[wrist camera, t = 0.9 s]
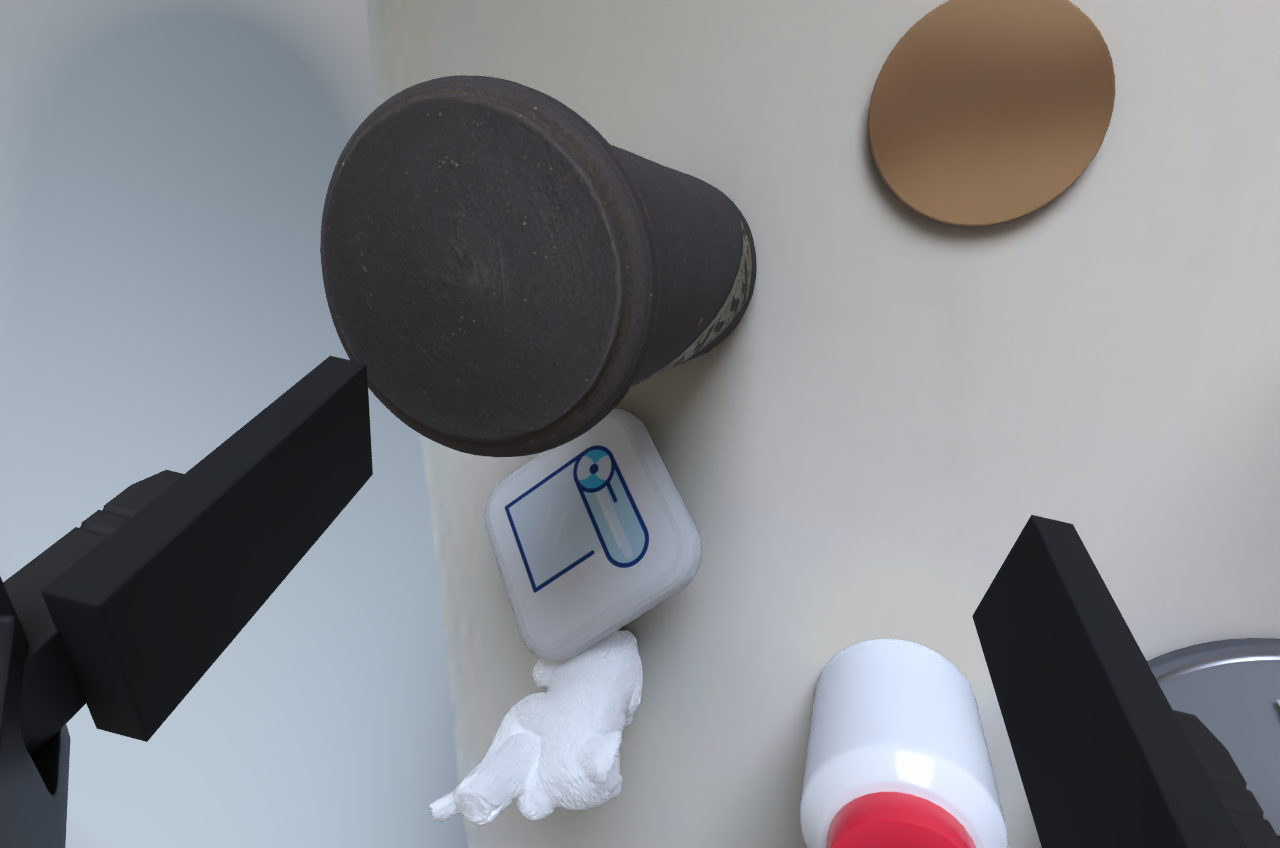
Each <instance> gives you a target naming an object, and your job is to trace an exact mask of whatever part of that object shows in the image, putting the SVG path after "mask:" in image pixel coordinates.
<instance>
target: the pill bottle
mask: <svg viewBox="0 0 1280 848" xmlns="http://www.w3.org/2000/svg"><path fill="white" fill-rule="evenodd" d="M800 823H801V828H802V832H803V837H804V841H805V843H806V845H807V847H808V848H1008V846H1009V842H1008V836H1007V830H1006V824H1005V819H1004V815H1003V811H1002V807H1001V802H1000V798H999V794H998V790H997V786H996V781H995V777H994V773H993V769H992V765H991V761H990V756H989V752H988V748H987V744H986V740H985V736H984V731H983V727H982V723H981V719H980V715H979V711H978V706H977V702H976V699H975V697H974V694H973V692H972V690H971V687H970V685H969V684H968V682H967V681H966V679H965V678H964V677H963V675H962V674H961V673H960V672H959V671H958V670H957V669H956V668H955V667H954V666H953V665H952V664H951V663H950V662H949V661H948V660H946V659H945V658H944V657H942V656H941V655H939V654H938V653H936V652H934V651H932V650H930V649H928V648H926V647H924V646H922V645H919V644H915V643H912V642H908V641H904V640H895V639H876V640H869V641H865V642H861V643H857V644H855V645H853V646H850V647H848V648H846V649H844V650H843V651H841V652H840V653H839V654H837V655H836V656H835V657H833V658H832V659H831V660H830V662H829V663H828V664H827V665H826V666H825V667H824V669H823V671H822V673H821V675H820V676H819V678H818V681H817V685H816V689H815V693H814V700H813V708H812V715H811V723H810V731H809V739H808V747H807V754H806V762H805V770H804V778H803V786H802V793H801V801H800Z"/></svg>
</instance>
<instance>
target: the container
mask: <svg viewBox="0 0 1280 848" xmlns="http://www.w3.org/2000/svg"><path fill="white" fill-rule="evenodd" d="M320 251H321V263H322V272H323V281H324V287H325V293H326V298H327V301H328V306H329V309H330V313H331V316H332V319H333V322H334V325H335V328H336V330H337V333H338V335H339V338H340V340H341V343H342V345H343V347H344V349H345V351H346V353H347V355H348V357H349V359H350V361H355V362H359V363H364V364H367V379H368V387H369V389H370V390H371V391H372V392H373V393H374V395H375V396H376V397H377V398H378V399H379V400H380V401H381V402H382V403H383V404H384V405H385V406H386V407H387V408H388V409H389V410H390V411H391V412H392V413H393V414H394V415H395V416H396V417H398V418H399V419H400V420H401V421H402V422H404V423H405V424H406V425H408V426H409V427H411V428H412V429H414V430H415V431H417V432H418V433H420V434H422V435H423V436H425V437H427V438H429V439H431V440H433V441H435V442H437V443H439V444H442V445H444V446H446V447H449V448H452V449H454V450H457V451H460V452H464V453H469V454H473V455H480V456H491V457H516V456H525V455H531V454H536V453H540V452H544V451H547V450H551V449H554V448H556V447H559V446H561V445H564V444H566V443H568V442H570V441H572V440H574V439H576V438H578V437H579V436H581V435H583V434H584V433H586V432H587V431H589V430H590V429H591V428H593V427H594V426H595V425H597V424H598V423H599V422H600V421H601V420H603V419H604V418H605V417H606V416H607V415H608V414H609V413H610V412H611V411H612V410H613V409H614V408H615V407H616V406H617V405H618V403H619V402H620V401H621V400H622V399H623V397H624V396H625V395H626V393H627V392H628V390H629V389H630V387H631V386H633V385H635V384H638V383H640V382H642V381H645V380H647V379H649V378H651V377H653V376H655V375H657V374H660V373H662V372H664V371H666V370H668V369H670V368H673V367H675V366H677V365H679V364H682V363H684V362H686V361H688V360H691V359H693V358H695V357H697V356H699V355H701V354H704V353H707V352H709V351H710V350H711V349H712V348H713V347H715V346H716V345H717V344H719V343H720V342H721V341H723V340H724V339H725V338H726V337H727V336H728V335H729V334H730V333H731V332H732V331H733V329H734V328H735V327H736V326H737V324H738V323H739V321H740V319H741V318H742V316H743V314H744V312H745V310H746V308H747V306H748V304H749V302H750V299H751V297H752V294H753V290H754V285H755V279H756V253H755V247H754V241H753V237H752V234H751V231H750V228H749V226H748V224H747V221H746V220H745V218H744V216H743V215H742V213H741V212H740V210H739V209H738V208H737V206H736V205H735V204H734V203H733V202H732V201H731V200H730V199H729V198H728V197H727V196H726V195H725V194H724V193H722V192H721V191H720V190H718V189H717V188H715V187H713V186H712V185H710V184H708V183H706V182H704V181H702V180H700V179H698V178H696V177H693V176H691V175H687V174H685V173H682V172H679V171H676V170H673V169H671V168H668V167H665V166H662V165H660V164H658V163H655V162H653V161H650V160H648V159H645V158H643V157H641V156H638V155H636V154H633V153H631V152H629V151H626V150H623V149H621V148H618V147H615V146H612V145H610V144H609V143H608V142H607V141H606V140H605V139H604V138H603V137H602V135H601V134H600V133H599V132H598V131H597V130H596V129H595V128H594V127H593V126H591V125H590V124H589V123H588V122H587V121H586V120H585V119H583V118H582V117H581V116H580V115H578V114H577V113H576V112H574V111H573V110H571V109H570V108H568V107H567V106H565V105H564V104H562V103H561V102H559V101H558V100H556V99H554V98H552V97H550V96H548V95H546V94H544V93H542V92H540V91H537V90H535V89H532V88H529V87H527V86H523V85H521V84H519V83H516V82H512V81H508V80H504V79H499V78H493V77H485V76H450V77H443V78H438V79H432V80H429V81H426V82H422V83H419V84H417V85H414V86H412V87H409V88H407V89H405V90H403V91H401V92H399V93H397V94H396V95H394V96H392V97H391V98H389V99H388V100H387V101H385V102H384V103H383V104H381V105H380V106H379V107H378V108H377V109H375V110H374V111H373V112H372V113H371V114H370V115H369V116H368V117H367V118H366V119H365V120H364V121H363V122H362V124H361V125H360V126H359V127H358V129H357V130H356V131H355V133H354V134H353V135H352V137H351V138H350V140H349V141H348V143H347V145H346V146H345V148H344V150H343V151H342V153H341V155H340V157H339V159H338V162H337V164H336V166H335V169H334V172H333V175H332V178H331V181H330V184H329V187H328V191H327V195H326V199H325V204H324V211H323V217H322V226H321V249H320Z"/></svg>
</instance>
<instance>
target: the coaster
mask: <svg viewBox="0 0 1280 848" xmlns="http://www.w3.org/2000/svg"><path fill="white" fill-rule="evenodd" d="M1114 98H1115V75H1114V69H1113V63H1112V59H1111V56H1110V53H1109V50H1108V47H1107V45H1106V43H1105V41H1104V39H1103V37H1102V35H1101V33H1100V31H1099V30H1098V29H1097V27H1096V26H1095V25H1094V23H1093V22H1092V21H1091V19H1090V18H1089V17H1088V16H1087V15H1086V14H1085V13H1084V12H1082V11H1081V10H1080V9H1079V8H1078V7H1077V6H1075V5H1074V4H1072V3H1071V2H1069V1H1068V0H949V1H947V2H945V3H943V4H941V5H940V6H938V7H937V8H935V9H934V10H932V11H931V12H929V13H928V14H926V15H925V16H924V17H923V18H921V19H920V20H919V21H918V22H917V23H916V24H914V25H913V26H912V27H911V28H910V29H909V30H908V32H907V33H906V34H905V35H904V36H903V37H902V38H901V39H900V40H899V42H898V43H897V44H896V46H895V47H894V49H893V50H892V51H891V53H890V54H889V56H888V58H887V60H886V61H885V63H884V65H883V67H882V69H881V71H880V73H879V76H878V78H877V80H876V83H875V87H874V90H873V93H872V97H871V102H870V108H869V121H868V131H869V143H870V147H871V152H872V156H873V159H874V162H875V164H876V167H877V170H878V171H879V173H880V175H881V177H882V179H883V181H884V182H885V183H886V185H887V186H888V187H889V189H890V190H891V192H892V193H893V194H894V195H895V196H896V197H897V198H898V199H899V200H900V201H901V202H902V203H904V204H905V205H907V206H908V207H909V208H911V209H912V210H913V211H915V212H917V213H919V214H921V215H923V216H924V217H927V218H929V219H932V220H935V221H937V222H941V223H945V224H950V225H956V226H966V227H971V226H987V225H993V224H999V223H1003V222H1006V221H1010V220H1014V219H1017V218H1019V217H1022V216H1024V215H1027V214H1029V213H1031V212H1033V211H1035V210H1037V209H1039V208H1041V207H1042V206H1044V205H1046V204H1047V203H1049V202H1050V201H1052V200H1053V199H1055V198H1056V197H1057V196H1059V195H1060V194H1061V193H1062V192H1064V191H1065V190H1066V189H1067V188H1068V187H1069V186H1070V185H1071V184H1073V183H1074V181H1075V180H1076V179H1077V178H1078V177H1079V176H1080V175H1081V174H1082V173H1083V171H1084V170H1085V169H1086V168H1087V166H1088V165H1089V163H1090V162H1091V160H1092V159H1093V158H1094V156H1095V154H1096V153H1097V151H1098V149H1099V147H1100V145H1101V143H1102V142H1103V139H1104V137H1105V134H1106V132H1107V129H1108V127H1109V123H1110V120H1111V116H1112V112H1113V106H1114Z"/></svg>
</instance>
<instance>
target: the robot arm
mask: <svg viewBox="0 0 1280 848" xmlns="http://www.w3.org/2000/svg"><path fill="white" fill-rule="evenodd" d="M372 472H373V471H372V453H371V436H370V417H369V398H368V379H367V364H364V363H359V362H355V361H350V360H346V359H342V358H337V357H333V356H330V357H328V358H327V359H326V360H324V361H323V362H322V363H321V364H320V365H318V366H317V367H316V368H315V369H313V370H312V371H311V372H310V373H309V374H307V375H306V376H305V377H304V378H302V379H301V380H300V381H299V382H297V383H296V384H295V385H294V386H293V387H291V388H290V389H289V390H288V391H286V392H285V393H284V394H283V395H281V396H280V397H279V398H278V399H277V400H275V401H274V402H273V403H272V404H270V405H269V406H268V407H267V408H265V409H264V410H263V411H262V412H261V413H259V414H258V415H257V416H256V417H254V418H253V419H252V420H251V421H250V422H248V423H247V424H246V425H245V426H243V427H242V428H241V429H240V430H238V431H237V432H236V433H235V434H233V435H232V436H231V437H230V438H229V439H227V440H226V441H225V442H224V443H222V444H221V445H220V446H219V447H217V448H216V449H215V450H214V451H213V452H212V453H210V454H209V455H208V456H206V457H205V458H204V459H203V460H201V461H200V462H199V463H198V464H197V465H195V466H194V467H193V468H192V469H190V470H189V471H188V472H187V473H186V474H181V473H177V472H173V471H169V470H165V471H162V472H160V473H158V474H156V475H153V476H151V477H149V478H146V479H144V480H142V481H139V482H137V483H135V484H133V485H131V486H129V487H128V488H127V489H125V490H124V491H123V492H121V493H120V494H119V495H117V496H116V497H115V498H114V499H112V500H111V501H110V502H108V503H107V504H106V505H104V508H103V510H102V511H101V510H98V511H97V512H95V513H94V514H93V515H91V516H90V517H89V518H87V519H86V520H85V521H83V522H82V525H81V527H80V528H77V527H75V528H74V529H73V530H72V531H70V532H69V533H68V534H66V535H65V536H64V537H62V538H61V539H60V540H59V541H57V542H56V543H55V544H53V545H52V546H51V547H49V548H48V549H47V550H45V551H44V552H43V553H41V554H40V555H39V556H37V557H36V558H35V559H34V560H32V561H31V562H30V563H28V564H27V565H26V566H24V567H23V568H22V569H21V570H19V571H18V572H17V573H15V574H14V575H13V576H12V577H10V578H9V579H7V580H6V581H5V582H2V579H1V577H0V848H65V840H66V839H65V838H66V819H67V798H68V797H67V796H68V775H69V755H70V736H69V732H68V729H67V726H66V723H67V722H68V721H69V720H70V719H71V718H72V717H73V716H74V715H75V714H76V713H77V712H78V711H79V710H80V709H81V708H82V707H83V706H84V705H85V704H86V703H87V706H88V708H89V711H90V713H91V715H92V718H93V720H94V723H95V725H96V727H97V729H101V730H105V731H109V732H112V733H116V734H120V735H124V736H127V737H131V738H135V739H139V740H142V741H146V742H147V741H148V740H149V739H150V738H151V736H152V735H153V734H154V733H155V732H156V731H157V729H158V728H159V727H160V726H161V725H162V723H163V722H164V721H165V720H166V719H167V717H168V716H169V715H170V714H171V713H172V712H173V710H174V709H175V708H176V707H177V706H178V704H179V703H180V702H181V701H182V699H184V697H185V696H186V695H187V694H188V693H189V691H190V690H191V689H192V688H193V687H194V686H195V684H196V683H197V682H198V681H199V680H200V678H201V677H202V676H203V675H204V673H205V672H206V671H207V670H208V669H209V668H210V666H211V665H212V664H213V663H214V662H215V660H216V659H217V658H218V657H219V656H220V655H221V654H222V652H223V651H224V650H225V649H226V648H227V646H228V645H229V644H230V643H231V642H232V640H233V639H234V638H235V637H236V636H237V635H238V633H239V632H240V631H241V630H242V628H243V627H244V626H245V625H246V624H247V623H248V621H249V620H250V619H251V618H252V617H253V616H254V614H255V613H256V612H257V611H258V610H259V608H260V607H261V606H262V605H263V604H264V603H265V601H266V600H267V599H268V598H269V596H270V595H271V594H272V593H273V592H274V591H275V589H276V588H277V587H278V586H279V585H280V584H281V582H282V581H283V580H284V579H285V578H286V576H287V575H288V574H289V573H290V572H291V570H292V569H293V568H294V567H295V566H296V565H297V563H298V562H299V561H300V560H301V559H302V557H303V556H304V555H305V554H306V553H307V551H308V550H309V549H310V548H311V547H312V546H313V544H314V543H315V542H316V541H317V540H318V538H319V537H320V536H321V535H322V534H323V533H324V531H325V530H326V529H327V528H328V527H329V525H330V524H331V523H332V522H333V521H334V519H335V518H336V517H337V516H338V515H339V514H340V512H341V511H342V510H343V509H344V508H345V507H346V505H347V504H348V503H349V502H350V500H351V499H352V498H353V497H354V496H355V495H356V493H357V492H358V491H359V490H360V489H361V488H362V486H363V485H364V484H365V483H366V482H367V480H368V479H369V478H370V477H371V476H372V474H373V473H372ZM973 619H974V623H975V626H976V629H977V633H978V636H979V639H980V643H981V646H982V649H983V653H984V656H985V659H986V663H987V666H988V669H989V673H990V676H991V679H992V683H993V686H994V689H995V693H996V696H997V699H998V703H999V706H1000V709H1001V713H1002V716H1003V719H1004V723H1005V726H1006V729H1007V733H1008V736H1009V739H1010V742H1011V746H1012V749H1013V752H1014V756H1015V759H1016V762H1017V766H1018V769H1019V772H1020V776H1021V779H1022V782H1023V786H1024V789H1025V792H1026V796H1027V799H1028V802H1029V806H1030V809H1031V812H1032V816H1033V819H1034V822H1035V826H1036V829H1037V832H1038V836H1039V839H1040V842H1041V846H1042V848H1280V639H1263V638H1248V639H1230V640H1222V641H1214V642H1208V643H1203V644H1198V645H1193V646H1189V647H1186V648H1182V649H1179V650H1175V651H1172V652H1169V653H1167V654H1164V655H1161V656H1159V657H1156V658H1154V659H1152V660H1150V661H1148V662H1147V661H1146V659H1145V658H1144V656H1143V654H1142V652H1141V650H1140V648H1139V646H1138V645H1137V643H1136V641H1135V639H1134V637H1133V635H1132V633H1131V632H1130V630H1129V628H1128V626H1127V624H1126V622H1125V620H1124V619H1123V617H1122V615H1121V613H1120V611H1119V609H1118V607H1117V606H1116V604H1115V602H1114V600H1113V598H1112V596H1111V594H1110V593H1109V591H1108V589H1107V587H1106V585H1105V583H1104V581H1103V580H1102V578H1101V576H1100V574H1099V572H1098V570H1097V568H1096V567H1095V565H1094V563H1093V561H1092V559H1091V557H1090V555H1089V554H1088V552H1087V550H1086V548H1085V546H1084V544H1083V542H1082V541H1081V539H1080V537H1079V535H1078V533H1077V531H1076V529H1075V528H1074V526H1073V524H1069V523H1065V522H1060V521H1056V520H1052V519H1047V518H1043V517H1038V516H1034V515H1031V517H1030V518H1029V520H1028V522H1027V524H1026V525H1025V527H1024V529H1023V530H1022V532H1021V534H1020V536H1019V537H1018V539H1017V541H1016V542H1015V544H1014V546H1013V548H1012V549H1011V551H1010V553H1009V554H1008V556H1007V558H1006V560H1005V561H1004V563H1003V565H1002V566H1001V568H1000V570H999V572H998V573H997V575H996V577H995V578H994V580H993V582H992V584H991V585H990V587H989V589H988V590H987V592H986V594H985V596H984V597H983V599H982V601H981V602H980V604H979V606H978V608H977V609H976V611H975V613H974V614H973Z"/></svg>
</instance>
